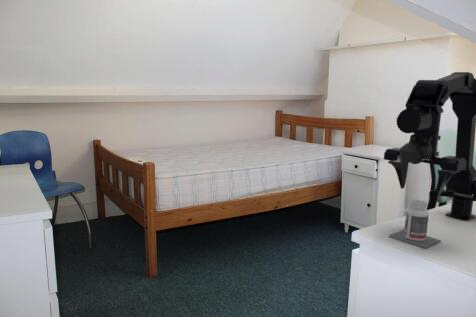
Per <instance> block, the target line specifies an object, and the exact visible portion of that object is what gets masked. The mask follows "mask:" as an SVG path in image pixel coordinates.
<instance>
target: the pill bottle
mask: <svg viewBox="0 0 476 317" xmlns="http://www.w3.org/2000/svg"><path fill="white" fill-rule="evenodd" d="M427 208H428V202H427V201H425V200H421V199H410V201H409V207H408V208H407V209H406V211H405V218H404V219H405V221H404V229H403V230H404V237H405V238H407V239H410V240H414V241H424V240H425V239H426V236H427V232H428V225H429V224H428V223H429V211H428V210H426V209H427Z"/></svg>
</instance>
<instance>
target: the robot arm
mask: <svg viewBox="0 0 476 317" xmlns="http://www.w3.org/2000/svg"><path fill="white" fill-rule="evenodd" d="M448 100H450V102H451V105H452V106H451V108H452V112H453V113H454V115H455V116H456V118H457V125H456V126H457V129H456V139H455V140H456V141H455V143H456V144H455V156H454V155H446V156H442V157H439V154H440V152H439V151H437V150H438V144H439V142H438V141H440V140H441V137H442V136H441V135H440V127H441V117H442V114H443V113H444V109H443V107H444V105H445V104H446V102H447V101H448ZM404 106H405V109H403V110H401V112H400V113H399V114H398V116H397V117H396V127H397V128H398V129H399V130H400V131H401V132H402V133H405V134H411V135H410V136H409V141H408V142H407V143H404V145H402V146H401V147H393V148H386V150H385V151H384V152H383V160H384V161H387V162H388V164H389V165H392V167H393V168H394V170H395V172H396V175H397V180H398V182H399V187H400V189H405V186H406V182H407V176H408V171H409V163H411V164H413V165H418V164H421V163H424V164H430V165H431V164H432V165H435V166H439V167H440V169H438V170H437V174H438V175H437V176H438V178H437V184H436V188H435V189H436V190H435V196H436V197H440V196H441V194H442V192H443V191H444V189H445V195H446V196H450V197H451V205H450V206H451V207H450V211H449V212H447V213H445V216H447V217H451V218H455V219H459V220H464V221H470V220H472V219H474V218H476V214H472V213H473V208H474V207H473V206H474V202H476V168H475V166H473V164H474V152H475V140H476V139H475V138H476V78H475V76H474V73H472V72H469V71H455V72H452V73H451V74H448V75H445V76H443V77H441V78H438V79H418V80H417V81H416V82H415V84H414V85H413V88H412V89H411V92H410V94H409V96H408V98H407V100H406V103H405V105H404Z"/></svg>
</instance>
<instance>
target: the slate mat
mask: <svg viewBox="0 0 476 317" xmlns="http://www.w3.org/2000/svg"><path fill="white" fill-rule="evenodd" d="M388 238H391V239H393V240H397V241H399V242H403V243H407V244H410V245H412V246H416V247H419V248H421V249H425V250H427V249H429V248H431V247H433V246H435V245H438V244H439V243H441V241H442V240H441V239H438V238H434V237H432V236H428V235H426V239H425V240H424V241H414V240H410V239H407V238H405V237H404V229H402V230H401V229H400V230H399V231H397V232H394V233H392V234H389V235H388Z"/></svg>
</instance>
